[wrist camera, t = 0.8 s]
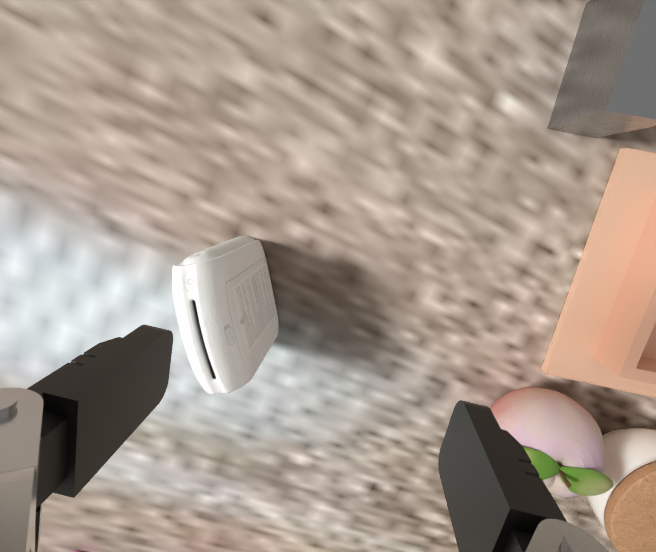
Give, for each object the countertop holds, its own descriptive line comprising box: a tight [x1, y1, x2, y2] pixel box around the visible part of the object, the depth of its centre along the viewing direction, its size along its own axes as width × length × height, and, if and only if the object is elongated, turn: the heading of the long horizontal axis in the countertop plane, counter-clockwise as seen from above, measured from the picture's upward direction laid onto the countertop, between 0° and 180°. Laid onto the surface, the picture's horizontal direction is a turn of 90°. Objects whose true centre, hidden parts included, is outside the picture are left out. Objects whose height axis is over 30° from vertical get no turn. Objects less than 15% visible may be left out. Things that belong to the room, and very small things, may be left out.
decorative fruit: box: [490, 387, 613, 497], centre depth 32 cm, size 9×8×10 cm
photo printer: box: [172, 236, 279, 394], centre depth 31 cm, size 10×4×12 cm, turn 10°
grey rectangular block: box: [548, 0, 656, 138], centre depth 27 cm, size 9×4×8 cm, turn 169°
